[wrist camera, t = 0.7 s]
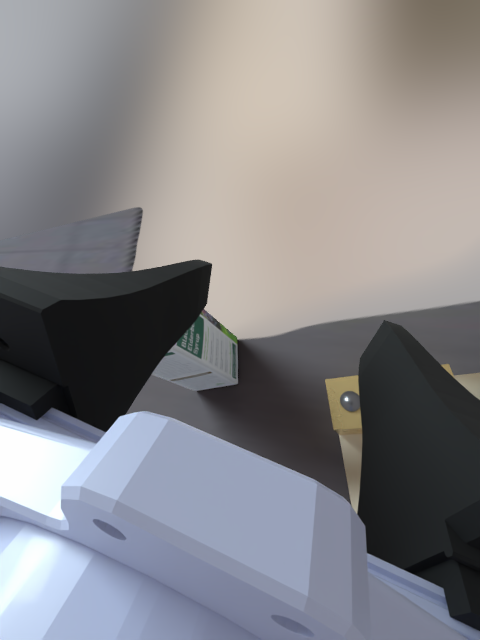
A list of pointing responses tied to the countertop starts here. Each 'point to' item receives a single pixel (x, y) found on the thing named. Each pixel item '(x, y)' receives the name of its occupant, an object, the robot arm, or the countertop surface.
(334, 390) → the link
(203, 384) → the syrup box
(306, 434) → the countertop surface
